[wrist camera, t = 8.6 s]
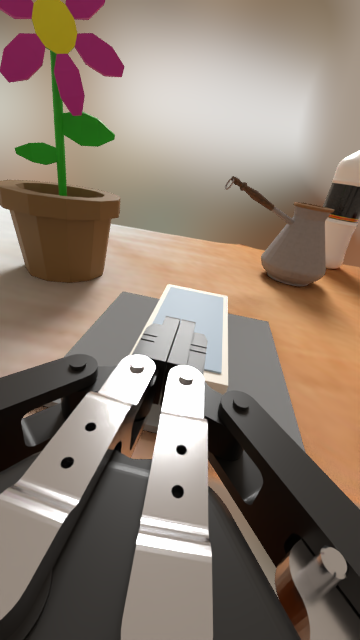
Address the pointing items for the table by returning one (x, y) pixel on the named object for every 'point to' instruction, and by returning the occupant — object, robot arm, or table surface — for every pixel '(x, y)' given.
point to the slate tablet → (199, 326)
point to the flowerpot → (60, 145)
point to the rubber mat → (243, 357)
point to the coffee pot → (294, 242)
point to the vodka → (342, 210)
